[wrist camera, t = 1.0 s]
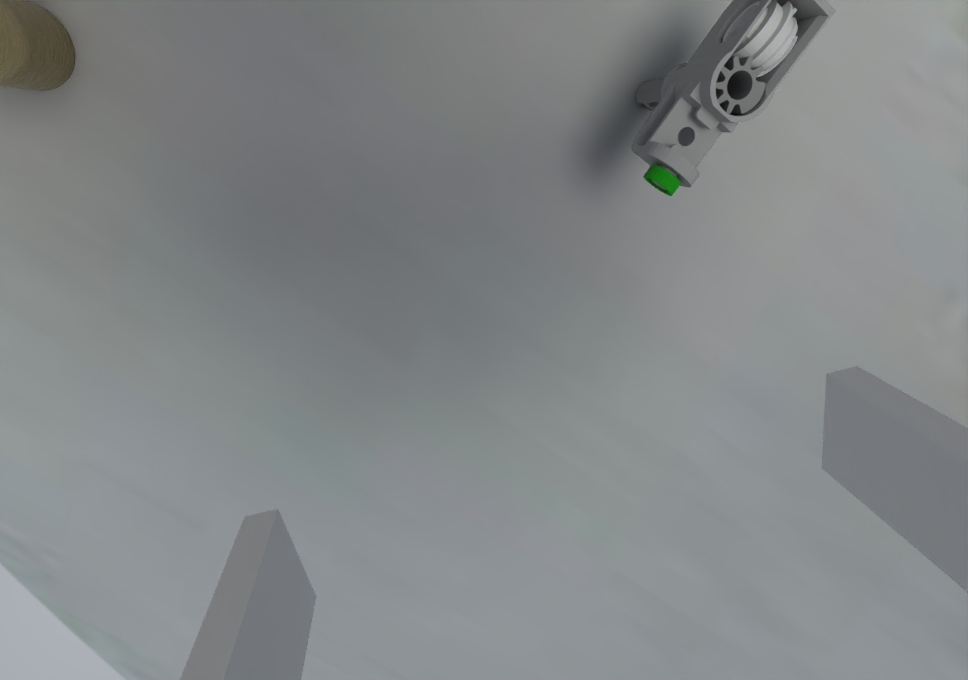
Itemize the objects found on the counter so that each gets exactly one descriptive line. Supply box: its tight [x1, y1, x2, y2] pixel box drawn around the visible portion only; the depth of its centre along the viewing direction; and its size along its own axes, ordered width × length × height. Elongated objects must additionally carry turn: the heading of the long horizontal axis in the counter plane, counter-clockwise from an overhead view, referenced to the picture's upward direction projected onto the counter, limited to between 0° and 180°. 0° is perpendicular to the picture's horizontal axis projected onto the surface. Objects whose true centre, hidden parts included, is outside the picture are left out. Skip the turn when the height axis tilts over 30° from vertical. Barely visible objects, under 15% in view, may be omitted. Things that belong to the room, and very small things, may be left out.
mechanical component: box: [632, 0, 835, 196], centre depth 28 cm, size 3×10×10 cm, turn 145°
